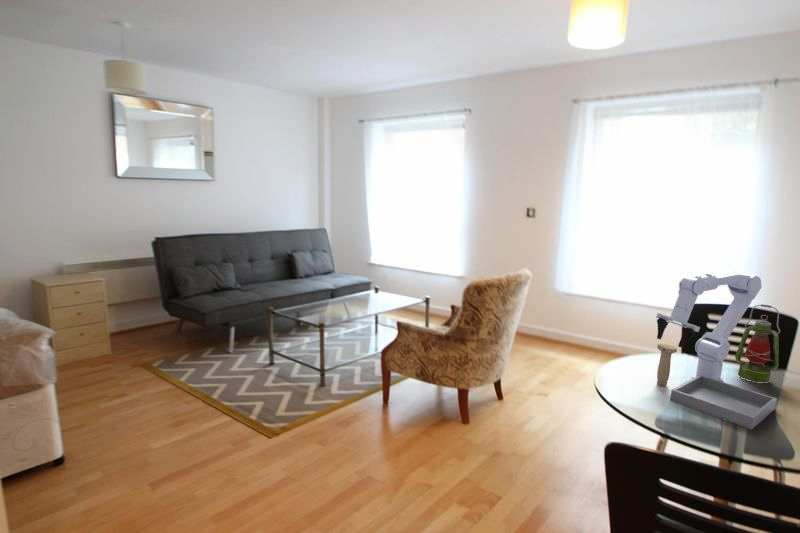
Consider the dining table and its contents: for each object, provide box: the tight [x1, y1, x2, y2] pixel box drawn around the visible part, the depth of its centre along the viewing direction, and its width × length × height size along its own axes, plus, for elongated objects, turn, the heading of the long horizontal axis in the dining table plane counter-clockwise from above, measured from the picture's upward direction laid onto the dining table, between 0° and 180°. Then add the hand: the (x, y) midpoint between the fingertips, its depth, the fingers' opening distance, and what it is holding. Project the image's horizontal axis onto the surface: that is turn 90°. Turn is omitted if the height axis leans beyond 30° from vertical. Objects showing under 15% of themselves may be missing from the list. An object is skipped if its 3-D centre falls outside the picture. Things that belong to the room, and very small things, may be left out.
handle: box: [656, 343, 678, 387], centre depth 179 cm, size 5×6×15 cm
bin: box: [669, 375, 778, 430], centre depth 164 cm, size 24×24×4 cm
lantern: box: [735, 303, 781, 382], centre depth 187 cm, size 14×11×30 cm
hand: (669, 342), depth 177 cm, fingers open, 7 cm apart
